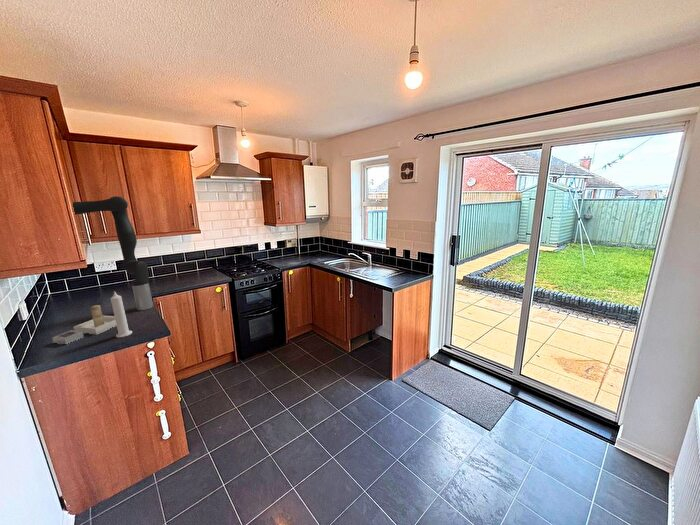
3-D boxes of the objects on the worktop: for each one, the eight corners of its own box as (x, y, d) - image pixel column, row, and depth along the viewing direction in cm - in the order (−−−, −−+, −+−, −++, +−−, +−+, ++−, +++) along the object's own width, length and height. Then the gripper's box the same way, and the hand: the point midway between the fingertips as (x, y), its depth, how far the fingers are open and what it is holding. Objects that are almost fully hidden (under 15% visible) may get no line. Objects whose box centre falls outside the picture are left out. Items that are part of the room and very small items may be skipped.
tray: (104, 320, 176) (102, 315, 175) (124, 322, 173) (123, 316, 172) (74, 332, 161) (73, 326, 160) (96, 334, 157) (95, 328, 157)
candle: (135, 331, 160) (126, 289, 154) (126, 337, 153) (116, 293, 147) (122, 331, 160) (112, 289, 154) (112, 337, 153) (102, 294, 147)
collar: (72, 336, 156) (70, 330, 156) (83, 337, 155) (82, 331, 154) (53, 343, 148) (52, 337, 148) (66, 344, 147) (64, 338, 146)
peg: (96, 325, 168) (91, 306, 165) (105, 323, 169) (101, 304, 167) (93, 328, 164) (88, 308, 161) (103, 326, 165) (98, 307, 163)
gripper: (56, 241, 154) (65, 270, 158) (71, 238, 167) (79, 264, 171) (38, 243, 152) (48, 272, 156) (55, 239, 165) (63, 266, 169)
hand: (64, 268), depth 164 cm, fingers open, 8 cm apart
